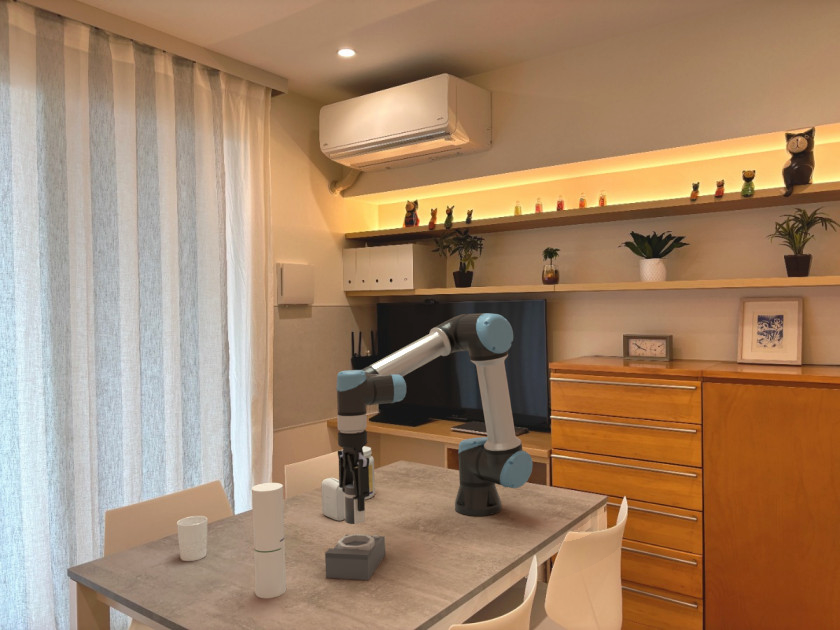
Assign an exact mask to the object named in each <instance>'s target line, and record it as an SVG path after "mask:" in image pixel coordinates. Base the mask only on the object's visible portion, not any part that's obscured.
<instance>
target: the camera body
mask: <svg viewBox="0 0 840 630" xmlns="http://www.w3.org/2000/svg"><path fill="white" fill-rule="evenodd" d="M385 556H386V536H385V535H384V536H382V535H379V534H374V535H370V534H367V533H365V534H364V533H363V534H362V533H361V534H360V533H353V534H345V535H344V536H342V537H340V539H338V541H337V542H336V545H335V546H334V548H328V549H327V550H326V552H324V557H325V558H324V559H325V560H324V561H325V578H326V579H338V580H339V579H341V580H355V581H356V580H358V581H369V580H370V578H371V577H372V576H373V574H374V572H375V571H376V570H377V568H378V567H379V565H380V564H381V562H382V560H383V559H384V558H385Z"/></svg>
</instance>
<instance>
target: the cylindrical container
mask: <svg viewBox="0 0 840 630" xmlns="http://www.w3.org/2000/svg"><path fill="white" fill-rule="evenodd" d="M283 487H284V485H283V484H282V483H280V482H265V483H264V482H263V483H259V484H256V485H254V486H252V487H251V499H252V500H251V502H252V503H251V504H252V505H251V506H252V507H251V508H252V530H253V531H252V532H253V534H252V535H253V555H254V557H253V559H254V561H253V562H254V564H253V565H254V584H255V585H254V588H255V589H254V590H255V591H254V593H255V596H256V597H258V598H260V599H273V598H277V597H281V596H283V595H284V594H285V593H286V592H287V574H286V573H287V571H286V549H285V548H286V547H285V546H286V544H285V543H286V542H285V515H284V514H285V513H284V488H283Z"/></svg>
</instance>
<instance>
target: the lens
mask: <svg viewBox="0 0 840 630" xmlns="http://www.w3.org/2000/svg"><path fill="white" fill-rule="evenodd" d="M353 497H356V496H355V489H354V484H348V485H346V486H345V516H346V519H345V523H347V524H349V525H355V524H354V499H353Z"/></svg>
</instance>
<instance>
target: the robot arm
mask: <svg viewBox="0 0 840 630" xmlns="http://www.w3.org/2000/svg"><path fill="white" fill-rule="evenodd" d="M513 341H514V331H513V328H512V325H511V323H510V321H508V319H506V318H505V317H504V316H503V315H501V314H498V313H490V312H488V313H484V312H483V313H462V314H459V315H457V316H454V317H452V318H450V319H448V320H446V321H444V322H442V323H441V324H439V325H436V326H434V327H433V328H431V329H430V330H429V334H426V335H425V336H423V337H421V338H419V339H417V340H415V341H413V342H411V343H409V344H407V345H406V346H404V347H402V348H400V349H399V350H396V351H394V352H392V353H391V354H389V355H386V356H385V357H383V358H382V359H380V360H378V361H376V362H374V363H372V364H370V365H369V366H366V367H364V368H362V369H353V370H350V369H349V370H342V371H339V372H338V373H337V375H336V388H335V389H336V405H337V415H336V417H337V418H336V419H337V424H336V425H337V430H338V432H337V444H338V447H340V448H342V450H337V457H338V458H337V459H338V480H339V487H340V488H342V491H343V492H344V518H346V516H345V486H346V485H348V484H353V482H354V489H355V496H356V497H353V499H354V524H353V525H359V524H364V523H366V507H365V506H366V503H365V502H366V500H365V497H368V496H369V458H365V457H364V454H363V449H362V448H363V446H367V444H368V431H367V430H366V429H367V426H368V425H367V419H368V416H367V406H372V405H382V404H394V403H397V402H401V401H403V400H404V398H406V394H407V383H406V380H405V379H404V377H405V376H406V375H408V374H410V373H411V372H413V371H415V370H416V369H418V368H421V367H423V366H424V365H426V364H428V363H430V362H432V361H433V360H435V359H437V358H438V357H440V356H442V357H446V356H448V355H451V354H452V353H456V352H468V354H469V360H470V362H471V363H473V364H474V365H475V366H476V371H477V372H476V373H477V379H478V386H479V392H480V397H481V399H480V400H481V405H482V411H483V416H484V423H485V429H486V435H487V436H482V437H472V438H466V439H465V438H464V439H463V440H461V441H460V442H459V443H458V452H457V455H458V474H459V487H458V490H457V492H456V493H457V494H456V497H455V500H454V509H455V511H456V512H457V513H459V514H462V515H466V516H473V517H485V516H491V515H494V514H498V513H499V512H501V510H502V501H501V498H500V495H499V493H498V488H497V485H499V486H502V487H504V488H510V489H519V488H521V487H522V486H524V485H525V484H526V483H527V482H528V480H529V478H530V476H531V474H532V471H533V465H534V464H533V459H532V457H531V455H530V454H529V453H528V452H527V451H526V450H524V449H523V444H522V440H521V439H520V438H519V437H518V436H516V431H515V424H514V417H513V411H512V406H511V405H512V404H511V397H510V391H509V385H508V377H507V372H506V366H505V360H506V359H507V358H508V356H509V352H508V351H509V350H510V348H511V347H512V342H513ZM355 467H358V468H355Z"/></svg>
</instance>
